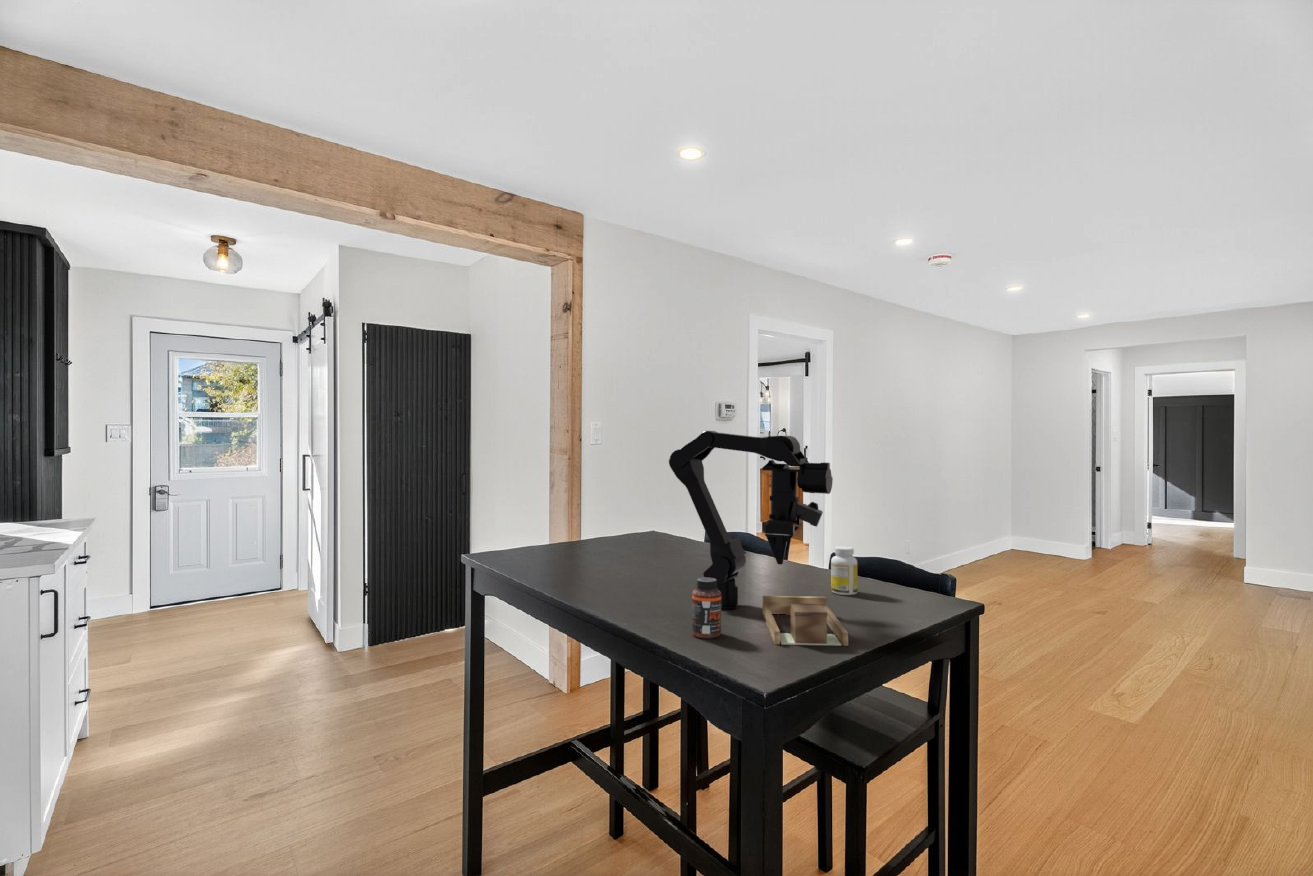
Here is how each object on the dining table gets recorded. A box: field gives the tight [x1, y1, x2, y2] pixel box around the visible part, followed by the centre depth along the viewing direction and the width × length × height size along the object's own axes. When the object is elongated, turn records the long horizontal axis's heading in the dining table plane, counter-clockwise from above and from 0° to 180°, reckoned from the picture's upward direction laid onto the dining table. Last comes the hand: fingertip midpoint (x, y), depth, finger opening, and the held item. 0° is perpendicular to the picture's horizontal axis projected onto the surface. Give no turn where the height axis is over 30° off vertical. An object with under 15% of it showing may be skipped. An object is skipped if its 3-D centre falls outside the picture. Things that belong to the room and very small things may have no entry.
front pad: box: [780, 632, 842, 647], centre depth 122 cm, size 11×6×1 cm, turn 86°
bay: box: [762, 595, 849, 647], centre depth 130 cm, size 14×21×4 cm, turn 176°
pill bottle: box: [830, 545, 859, 596], centre depth 159 cm, size 6×6×12 cm
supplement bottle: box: [691, 576, 722, 640], centre depth 125 cm, size 6×6×11 cm
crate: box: [790, 604, 828, 644], centre depth 122 cm, size 6×6×6 cm
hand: (782, 560), depth 140 cm, fingers open, 9 cm apart
